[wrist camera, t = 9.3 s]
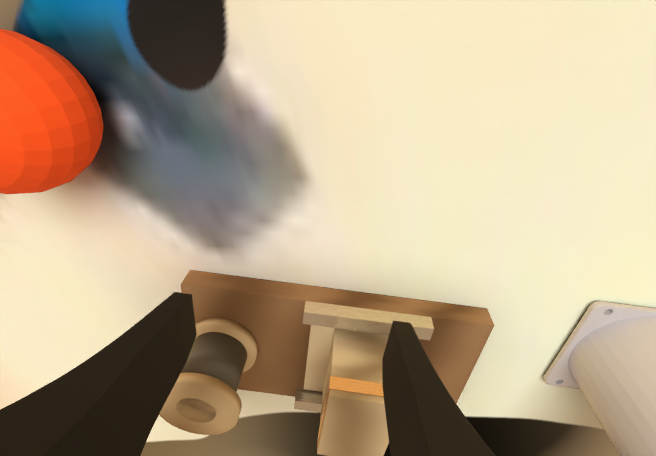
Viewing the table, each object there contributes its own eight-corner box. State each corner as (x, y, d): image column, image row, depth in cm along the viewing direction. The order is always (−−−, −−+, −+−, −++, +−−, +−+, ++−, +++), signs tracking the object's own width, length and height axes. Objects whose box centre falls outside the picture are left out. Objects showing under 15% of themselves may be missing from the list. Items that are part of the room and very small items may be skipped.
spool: (258, 322, 24) (237, 389, 20) (258, 370, 27) (239, 439, 22) (184, 313, 24) (147, 377, 20) (191, 362, 27) (159, 428, 22)
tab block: (395, 334, 24) (404, 406, 19) (377, 391, 27) (381, 463, 23) (334, 325, 24) (328, 395, 19) (323, 383, 27) (316, 454, 23)
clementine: (84, 195, 22) (-21, 266, 16) (-32, 108, 19) (-209, 151, 13) (156, 104, 19) (59, 148, 13) (28, -14, 16) (-167, -29, 10)
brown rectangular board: (487, 308, 24) (499, 337, 22) (445, 399, 29) (452, 429, 27) (190, 270, 24) (173, 295, 22) (201, 367, 29) (189, 394, 27)
